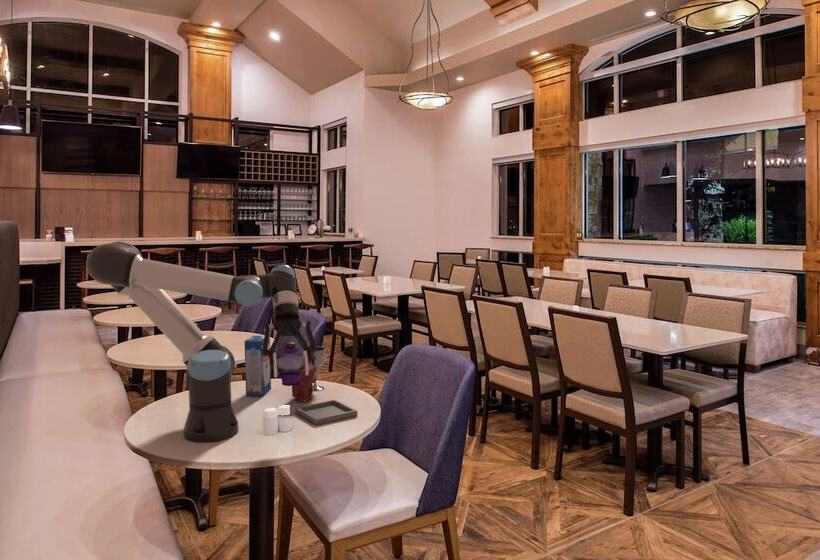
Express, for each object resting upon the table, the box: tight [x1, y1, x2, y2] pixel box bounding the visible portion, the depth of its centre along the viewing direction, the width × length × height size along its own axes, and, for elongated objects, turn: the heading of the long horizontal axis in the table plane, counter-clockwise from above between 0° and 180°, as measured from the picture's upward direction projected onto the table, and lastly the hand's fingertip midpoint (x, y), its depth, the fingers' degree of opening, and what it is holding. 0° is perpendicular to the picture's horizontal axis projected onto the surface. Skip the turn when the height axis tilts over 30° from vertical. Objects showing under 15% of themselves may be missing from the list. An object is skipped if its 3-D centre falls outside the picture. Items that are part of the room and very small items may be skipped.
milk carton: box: [244, 335, 272, 398], centre depth 213 cm, size 10×6×20 cm, turn 178°
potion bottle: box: [276, 341, 305, 387], centre depth 170 cm, size 9×9×12 cm
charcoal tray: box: [294, 399, 358, 426], centre depth 190 cm, size 15×15×2 cm
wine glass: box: [308, 345, 326, 391], centre depth 219 cm, size 8×8×15 cm
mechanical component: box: [291, 364, 318, 403], centre depth 205 cm, size 12×10×10 cm
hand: (291, 373), depth 167 cm, fingers closed on potion bottle, 8 cm apart
